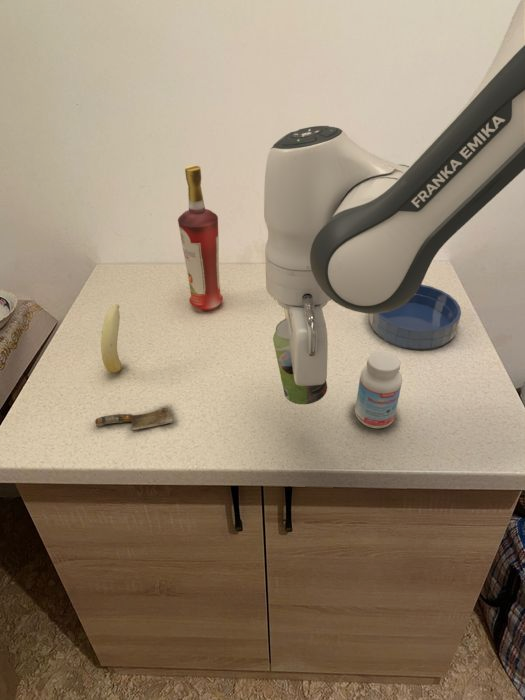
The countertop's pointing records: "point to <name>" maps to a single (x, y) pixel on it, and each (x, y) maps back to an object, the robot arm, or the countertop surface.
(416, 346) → the bowl
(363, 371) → the pill bottle
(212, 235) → the liquor
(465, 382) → the countertop surface
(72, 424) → the countertop surface
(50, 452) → the countertop surface
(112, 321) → the fruit
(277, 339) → the beverage can
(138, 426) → the meat cleaver
